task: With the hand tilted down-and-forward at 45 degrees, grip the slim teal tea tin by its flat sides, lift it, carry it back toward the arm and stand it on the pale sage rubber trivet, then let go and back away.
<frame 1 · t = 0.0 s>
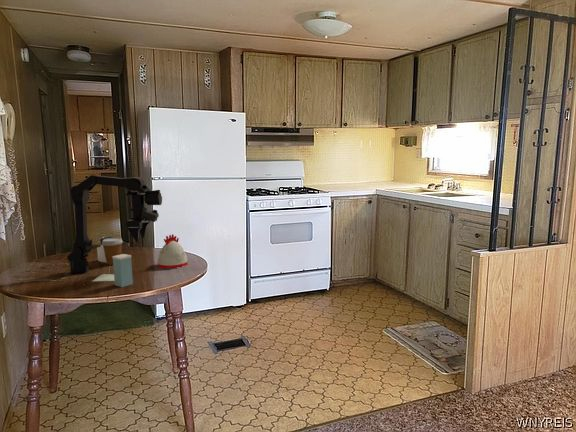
hand: (140, 239, 191), 15 cm above the table, tool pointing down, fingers open, 9 cm apart
disposable coffee cup: (114, 263, 207), on the table
tea tin: (123, 284, 173), on the table
kitchen timer: (173, 265, 203), on the table
trivet: (108, 277, 183), on the table
medicine bottle: (108, 260, 213), on the table
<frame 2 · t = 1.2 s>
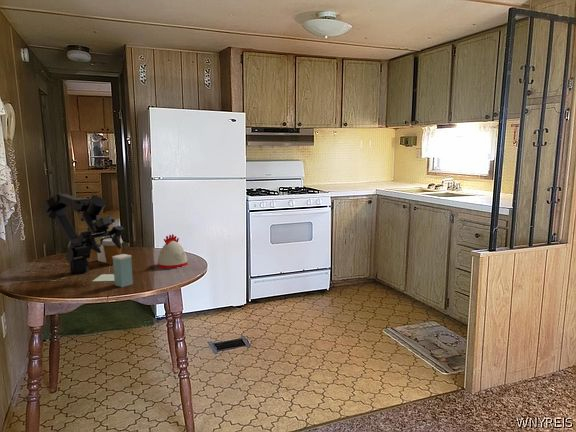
hand: (110, 250, 176), 13 cm above the table, tool tilted 45°, fingers open, 9 cm apart
nothing on the table moved.
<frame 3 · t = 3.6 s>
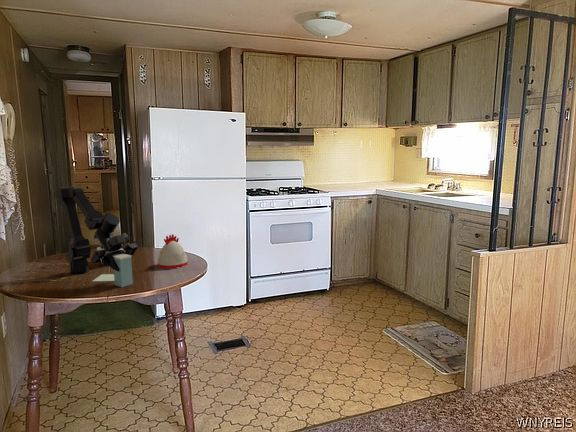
hand: (124, 269, 171), 7 cm above the table, tool tilted 45°, fingers closed on tea tin, 5 cm apart
tea tin: (123, 284, 173), on the table, touching gripper
everything else where it was.
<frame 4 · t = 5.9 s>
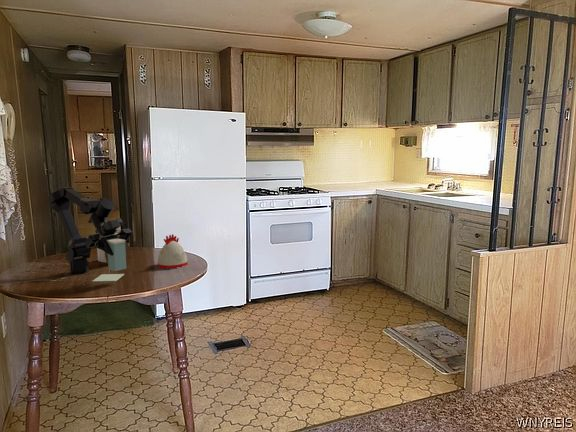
hand: (118, 253, 174), 12 cm above the table, tool tilted 45°, fingers closed on tea tin, 5 cm apart
tea tin: (117, 268, 175), point 6 cm above the table, touching gripper
everything else where it was.
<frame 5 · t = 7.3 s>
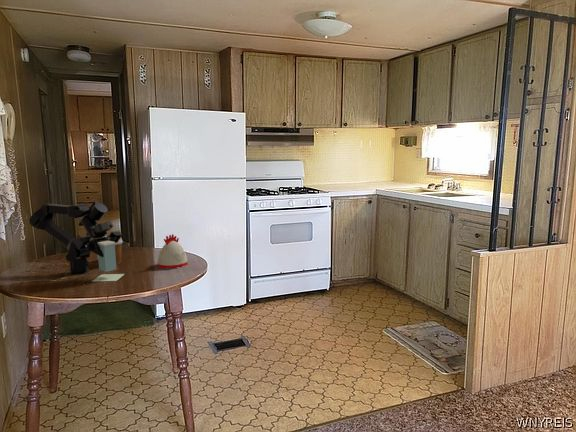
hand: (108, 255, 181), 10 cm above the table, tool tilted 45°, fingers closed on tea tin, 5 cm apart
tea tin: (107, 269, 182), point 4 cm above the table, touching gripper
everything else where it was.
when the fingers open (8 cm above the table, at t = 8.2 s): tea tin drops 1 cm, resting on trivet.
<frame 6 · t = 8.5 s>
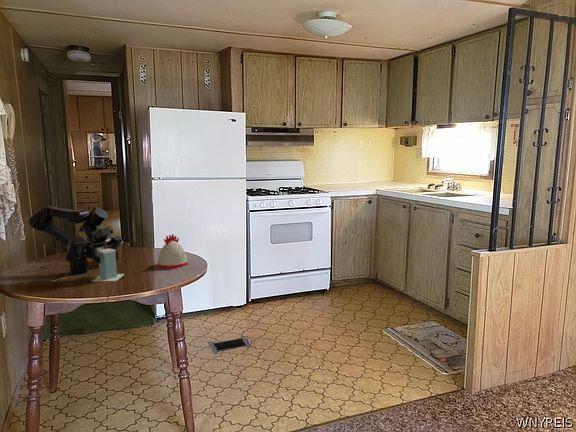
hand: (109, 260, 181), 8 cm above the table, tool tilted 45°, fingers open, 8 cm apart
tea tin: (108, 277, 183), resting on trivet
everything else where it was.
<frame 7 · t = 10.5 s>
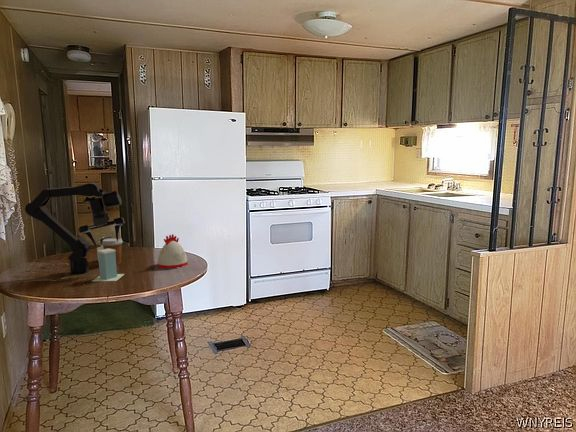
hand: (106, 243, 190), 13 cm above the table, tool pointing down, fingers open, 9 cm apart
nothing on the table moved.
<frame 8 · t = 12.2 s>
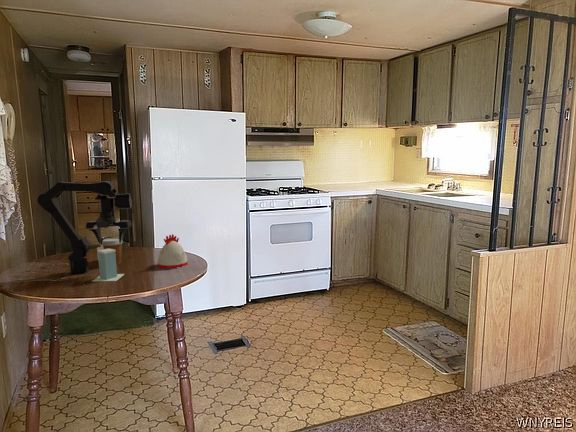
hand: (110, 242, 193), 13 cm above the table, tool pointing down, fingers open, 9 cm apart
nothing on the table moved.
at the end: tea tin inside the target area on the trivet (0.0 cm from its centre), point 0.2 cm above the trivet's base; tea tin tilted 0°; the gripper is holding nothing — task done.
